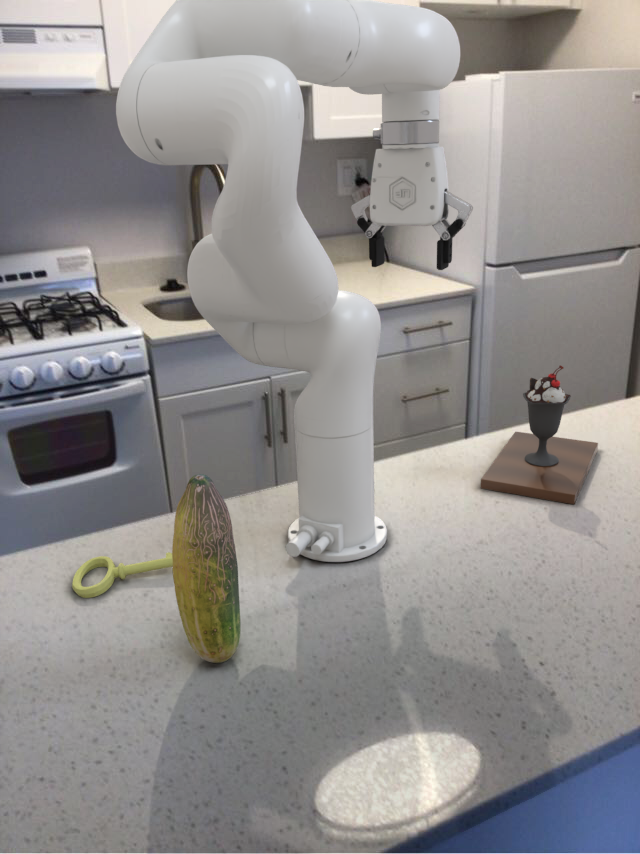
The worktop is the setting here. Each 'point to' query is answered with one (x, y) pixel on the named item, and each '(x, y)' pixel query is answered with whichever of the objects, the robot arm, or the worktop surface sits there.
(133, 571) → the key
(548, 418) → the sundae
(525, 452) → the serving board
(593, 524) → the worktop surface
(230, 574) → the vegetable
